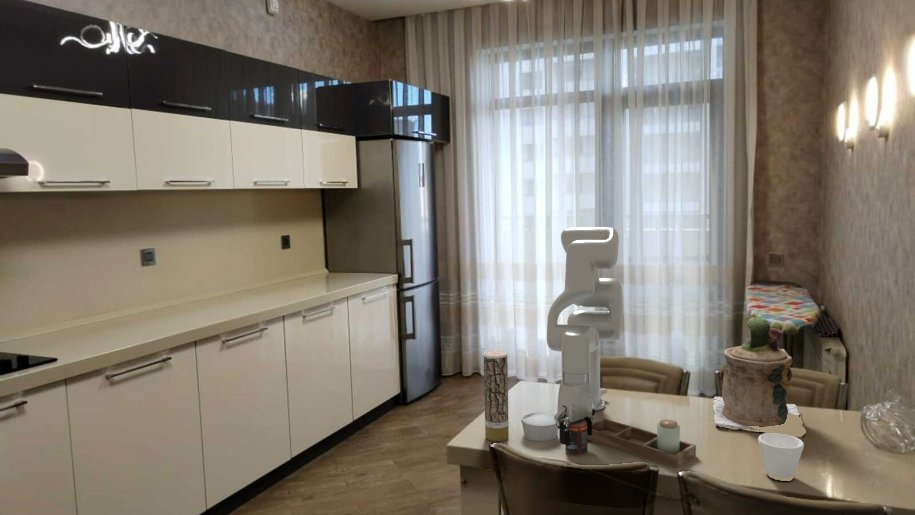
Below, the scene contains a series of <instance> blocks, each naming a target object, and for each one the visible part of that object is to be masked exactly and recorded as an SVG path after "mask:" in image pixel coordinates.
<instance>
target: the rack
mask: <svg viewBox="0 0 915 515" xmlns="http://www.w3.org/2000/svg"><path fill="white" fill-rule="evenodd" d="M587 442H588V443H589V442H590V443H593V442H594V443H598V444H600V445H603V446H607V447H611V448H613V449H615V450H619V451H622V452H626V453H628V454H632V455H634V456H638V457H641V458H643V459H647V460H650V461H652V462H657V463H659V464H663V465H664V466H665V465H666V466H669V467H671V466H672V468H674V467H675V468H674V469H677V468H679V467H680V465H681V466H683V465H684V464H686V463H687V462H689V461H690V460H692V459H694V458H695V457H696V456H697V455H696V454H697V448H696V447H697V445H696V444H694V443H691V442H687V441H684V440H680V452H679V453H677V454H676V455H675V454H671V453H668V452H665V451H662V450H658V449H657V432H651V431H649V430H645V429H641V428H638V427H634V426H631V425H627V424H624V423H622V422H617V421H614V420H611V419H607V418H604V417H603V418H601V419H598V420H596V421H594V422H592V435H591V436H589V435H587Z"/></svg>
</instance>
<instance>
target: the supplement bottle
mask: <svg viewBox="0 0 915 515" xmlns="http://www.w3.org/2000/svg"><path fill="white" fill-rule="evenodd" d="M567 419H569V418H568V417H567ZM564 424H565V425H566V424H567V422H564ZM569 431H570V445H569V446H567V445H564V446H565V449H564V450H565V453H566V455H570V456H574V457H581V456H585V455H587V454H588V441H587V422H586V421H585V420H584V418H583V419H580V420H578V421H575V422H572V423H571V426H570V428H569Z"/></svg>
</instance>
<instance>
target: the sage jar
mask: <svg viewBox="0 0 915 515" xmlns="http://www.w3.org/2000/svg"><path fill="white" fill-rule="evenodd" d="M656 424H657V426H656V427H657V428H656V431H657V432H656V434H657V449H658V450H662V451H665V452H668V453H671V454H675V455H676V454H677V453H679V452H680V441H681V440H680V436H681V432H680V430H681V426H680V424H678V421H675V420H672V419H667V418H666V419H660V421H659V422H658V423H656Z"/></svg>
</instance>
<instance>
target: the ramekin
mask: <svg viewBox="0 0 915 515" xmlns="http://www.w3.org/2000/svg"><path fill="white" fill-rule="evenodd" d="M555 415H556V414H554V413H550V412H529V413H527V414H524V415H522V416H521V418H520V422H521V424H522V430H523V435H524V436H525V438H527V439H528V440H530V441H533V442H550V441H553V440H554V439H556V438H557V436H558V433H559V429H558V427H557V426H556V422H555V420H554V416H555Z"/></svg>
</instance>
